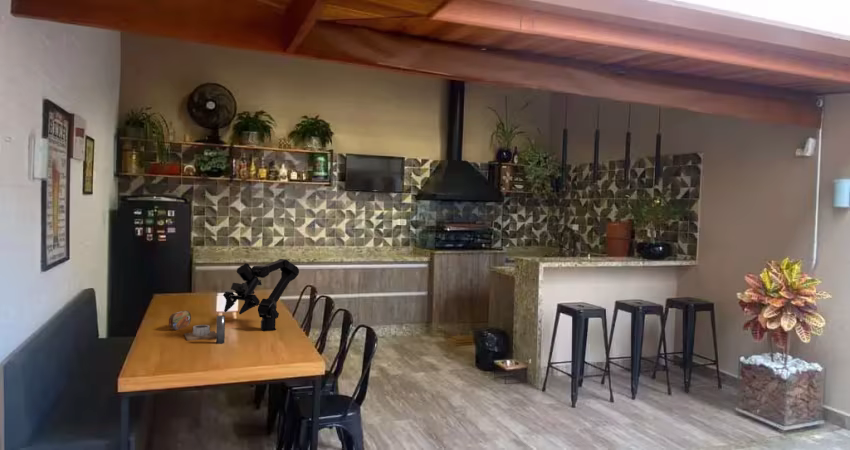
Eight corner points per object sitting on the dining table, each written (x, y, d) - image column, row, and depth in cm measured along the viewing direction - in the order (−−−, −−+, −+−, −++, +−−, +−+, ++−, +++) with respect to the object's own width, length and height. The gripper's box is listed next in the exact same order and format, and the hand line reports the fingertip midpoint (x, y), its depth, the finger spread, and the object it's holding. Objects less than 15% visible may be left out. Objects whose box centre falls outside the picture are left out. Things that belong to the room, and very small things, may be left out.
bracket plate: (214, 332, 276) (214, 330, 276) (218, 337, 265) (218, 336, 265) (183, 335, 269) (183, 333, 269) (187, 340, 258) (187, 338, 258)
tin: (172, 331, 276) (173, 314, 276) (167, 330, 276) (167, 314, 276) (191, 325, 291) (191, 309, 290) (186, 324, 291) (186, 308, 291)
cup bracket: (208, 332, 272) (208, 324, 272) (210, 335, 266) (210, 327, 266) (191, 333, 268) (192, 325, 268) (194, 337, 262) (194, 328, 262)
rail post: (223, 341, 259) (224, 315, 258) (225, 343, 256) (225, 316, 255) (215, 342, 257) (216, 315, 257) (216, 344, 254) (217, 317, 254)
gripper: (226, 274, 271) (208, 300, 261) (256, 278, 263) (238, 304, 253) (237, 289, 278) (220, 314, 268) (267, 292, 270) (250, 318, 261)
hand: (232, 312), depth 262 cm, fingers open, 9 cm apart
